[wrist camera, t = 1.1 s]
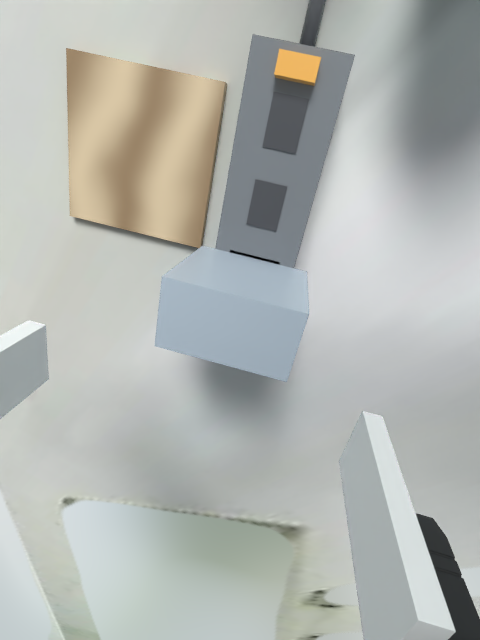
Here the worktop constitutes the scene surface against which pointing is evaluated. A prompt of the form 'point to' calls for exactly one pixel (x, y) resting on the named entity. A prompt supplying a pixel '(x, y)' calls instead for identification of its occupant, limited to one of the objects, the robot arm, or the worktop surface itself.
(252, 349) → the block
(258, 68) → the power strip
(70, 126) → the tan flat square block
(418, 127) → the worktop surface
